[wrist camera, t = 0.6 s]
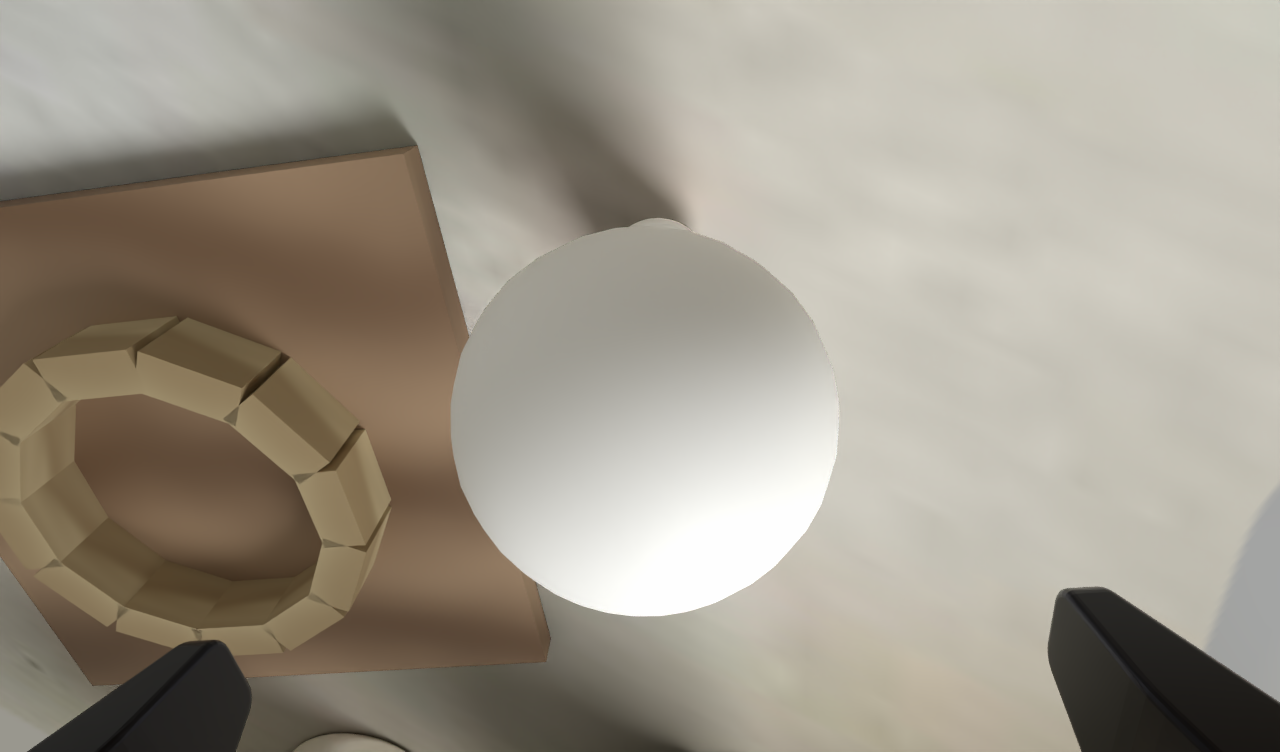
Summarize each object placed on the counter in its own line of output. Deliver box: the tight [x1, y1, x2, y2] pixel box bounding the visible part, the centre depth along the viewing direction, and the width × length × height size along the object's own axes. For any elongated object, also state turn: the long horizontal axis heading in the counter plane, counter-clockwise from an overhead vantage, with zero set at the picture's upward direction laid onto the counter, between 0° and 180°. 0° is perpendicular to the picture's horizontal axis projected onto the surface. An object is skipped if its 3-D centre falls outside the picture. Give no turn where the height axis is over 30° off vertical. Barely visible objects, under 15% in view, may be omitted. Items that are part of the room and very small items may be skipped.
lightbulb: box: [451, 218, 839, 616], centre depth 14 cm, size 6×6×11 cm
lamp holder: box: [0, 145, 551, 686], centre depth 21 cm, size 17×17×3 cm
